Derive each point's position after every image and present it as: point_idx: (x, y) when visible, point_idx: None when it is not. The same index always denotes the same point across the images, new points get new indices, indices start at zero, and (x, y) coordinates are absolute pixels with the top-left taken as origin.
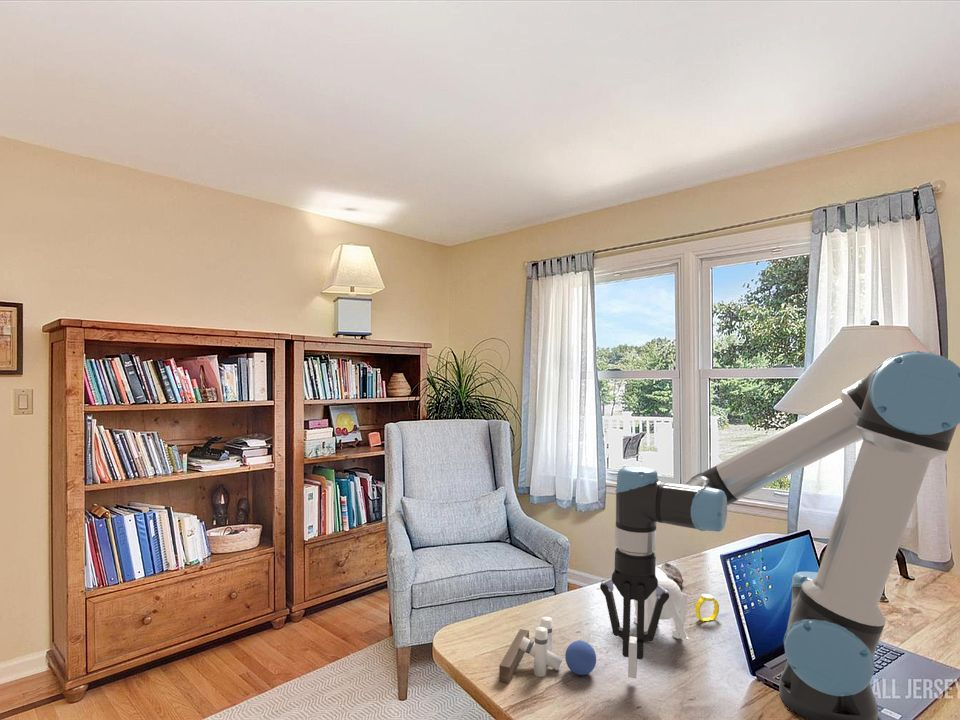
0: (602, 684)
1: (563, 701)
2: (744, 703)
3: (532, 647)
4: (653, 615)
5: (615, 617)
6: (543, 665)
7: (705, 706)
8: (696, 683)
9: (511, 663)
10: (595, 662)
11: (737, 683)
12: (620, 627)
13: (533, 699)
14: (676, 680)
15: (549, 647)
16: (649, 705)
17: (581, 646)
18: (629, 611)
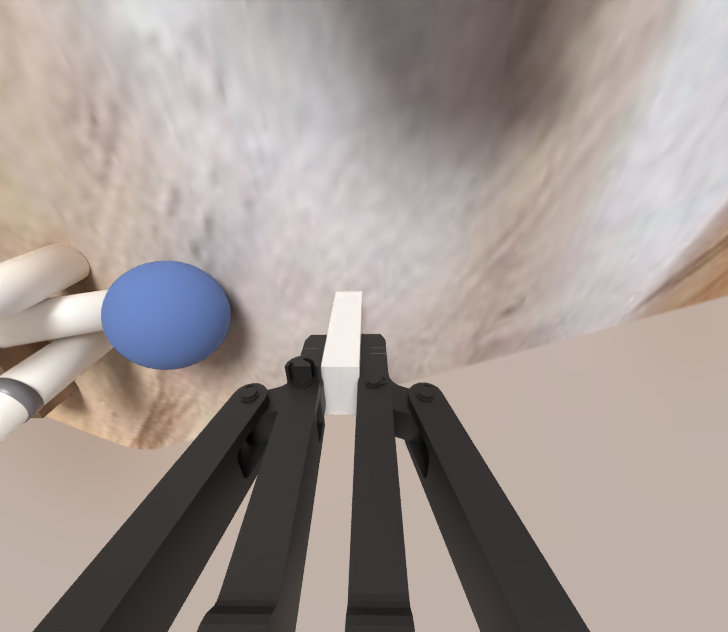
0: (274, 323)
1: (217, 405)
2: (663, 283)
3: (5, 347)
4: (462, 581)
5: (228, 520)
6: (99, 358)
7: (537, 330)
8: (555, 220)
9: None
10: (227, 322)
11: (721, 163)
12: (268, 416)
13: (160, 416)
14: (489, 226)
15: (41, 297)
16: (397, 366)
17: (154, 363)
18: (299, 581)
